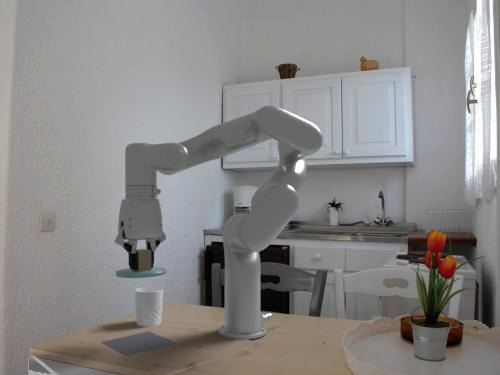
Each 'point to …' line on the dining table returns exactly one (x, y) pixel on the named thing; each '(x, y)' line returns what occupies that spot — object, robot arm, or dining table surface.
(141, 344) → the mat
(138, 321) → the white cup
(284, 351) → the dining table surface
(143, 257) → the lid
